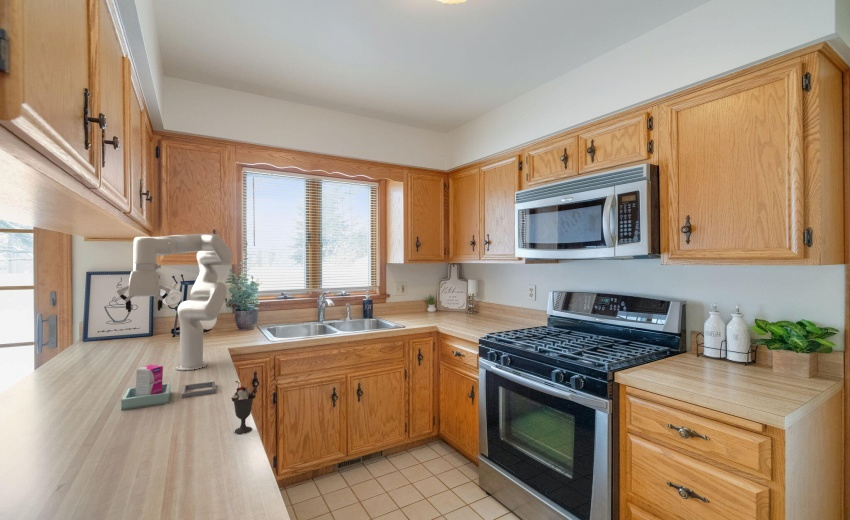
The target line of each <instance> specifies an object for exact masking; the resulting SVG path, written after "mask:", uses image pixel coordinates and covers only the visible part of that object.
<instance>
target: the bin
mask: <svg viewBox="0 0 850 520" xmlns="http://www.w3.org/2000/svg"><path fill="white" fill-rule="evenodd" d="M171 385H172V384H171V382H168V383H162V393H161V394H153V395H146V396H139V397H135V395H136V386H135V387H129V388H127V389H126V391H125V392H124V394H123V396H122V398H121V407H120V408H121V409H120V410H121V411H127V410H133V408H134V409H140V408H139V407H141V408H145V407H146V406H148V407H153V405H154V406H161V405H167V403H168V404H169V401H170V397H171V392H172V391H171V390H172V389H171V388H172V386H171Z"/></svg>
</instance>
